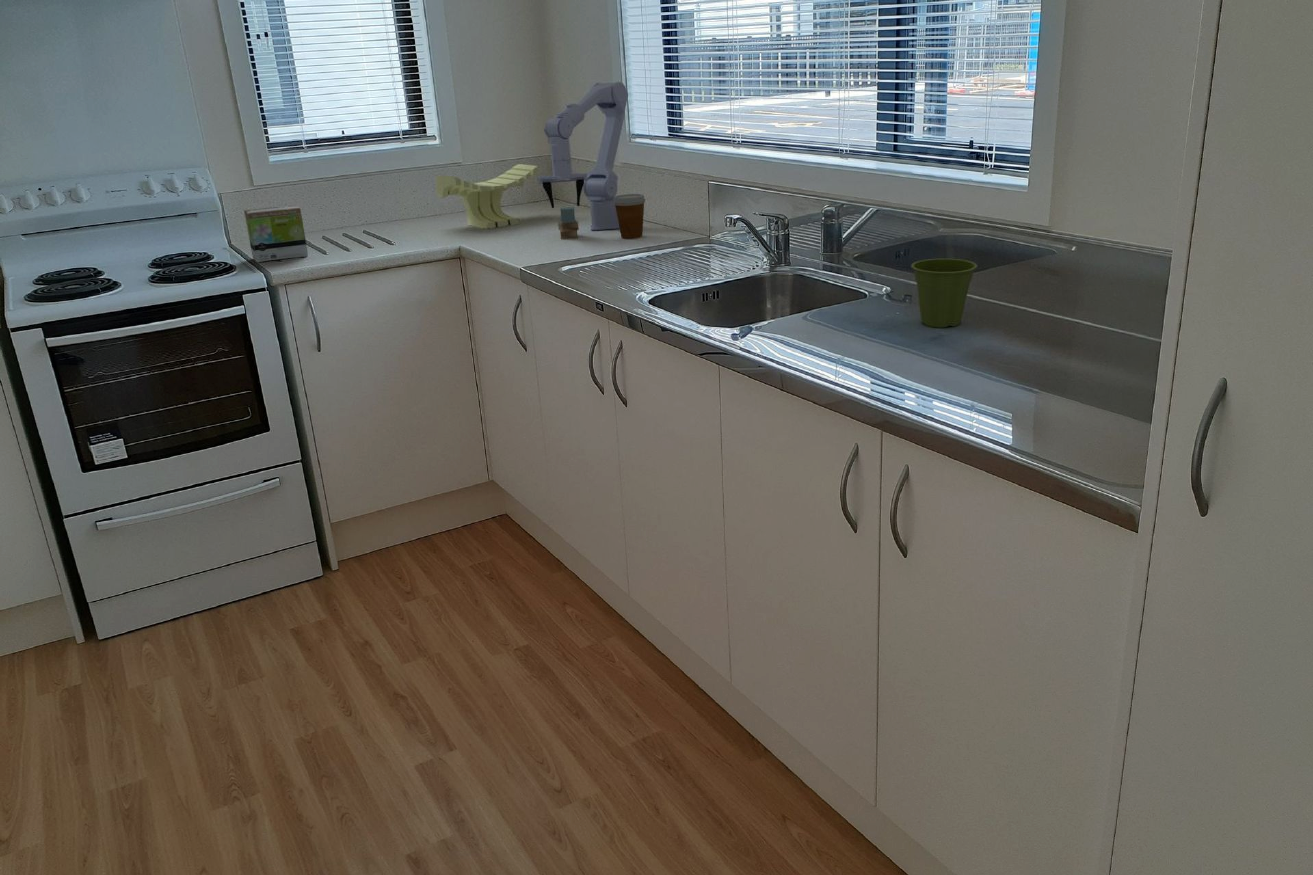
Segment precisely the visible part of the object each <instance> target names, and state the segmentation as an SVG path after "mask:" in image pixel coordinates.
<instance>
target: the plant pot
mask: <svg viewBox="0 0 1313 875" xmlns="http://www.w3.org/2000/svg"><path fill="white" fill-rule="evenodd" d="M910 267H911V269H913V270H914V279H915V281H916V287H917V295H918V303H919V312H920V319H921V320H920V321H921V324H924V325H925V326H927V327H930V328H939V329H943V328H948V327H949V326H950V327H951V326H952V327H957V326H959V325H961V322H962V319H963V314H964V309H965V304H966V300H967V297H968V293H969V292H968V291H969V288H970V283H971V282H972V280H973V275H974V271H975V270H976V269H977V268H978V264H977V263H976V262H973V261H970V260H966V259H958V258H930V259H928V258H927V259H922V260H917V261H914V262H913V263H911V265H910Z"/></svg>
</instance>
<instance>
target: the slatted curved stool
mask: <svg viewBox="0 0 1313 875" xmlns="http://www.w3.org/2000/svg"><path fill="white" fill-rule="evenodd" d="M538 168H539V166H537V165H532V164H522V163H519V164H516V165H514V166H512V167H511V168H510V169H508V170H506V171H505V172H504V173H502V174H500V175H498V176H497V177H493V179H492V178H491V179H489V180H485V181H481V182H473V183H471V182H468V181H466V180H461V179H460V178H458V177H456V176H454V175H453V176H452V175H445V174H444V175H443V174H437V175H436V177H435V189H436V195H437V198H442V199H444V198H447V197H449V196H455V195H456V196H458V197H460V198H461V201H462V203H463V205H464V208H465V211H466V219H467V225H468V226H469V225H471V226H470V227H474V226H475V227H474V228H478V227H479V228H478V229H483V228H485V229H484V230H488V229H487V228H490V229H494V228H501V227H500V226H502V227H506V226H505V225H508V226H509V225H510V226H513V224H514V225H518V224H517V223H520V224H521V222H520V220H519V218H517V217H514V216H510V215H508V214H507V213H505V212H504V211H503V210H502V209H501V201H502V197H503V195H504V194H503V192H505V191H507V190H509V189H510V188H514V187H515V188H516V187H524V183H525V180H529V179H532V176H537V175H538V176H539V170H538Z"/></svg>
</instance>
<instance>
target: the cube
mask: <svg viewBox="0 0 1313 875" xmlns="http://www.w3.org/2000/svg"><path fill="white" fill-rule="evenodd" d="M560 219H561V220H560V221H562V223H572V222H575V220H576V215H575V206H567V207H565V206H563V207H560Z"/></svg>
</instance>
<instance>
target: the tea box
mask: <svg viewBox="0 0 1313 875" xmlns="http://www.w3.org/2000/svg"><path fill="white" fill-rule="evenodd" d="M302 216H303V215H302V211H301V208H300V207H299V206H297V205H296V204H292V205H291V204H290V205H279V206H278V205H277V206H269V207H261V208H250V209H244V218H245V222H246V224H245V225H246V229H247V234H248V240H249V244H250V245H249V246H250V251H251V255H252V258H253V260H254V261H255V262H256V263H263V262H268V261H276V260H285V259H286V260H287V259H295V258H304V257H305V258H306V257H308V255H309V254H308V246H307V245H308V244H307V240H306V235H305V234H306V233H305V228H304V223H303V217H302Z"/></svg>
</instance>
